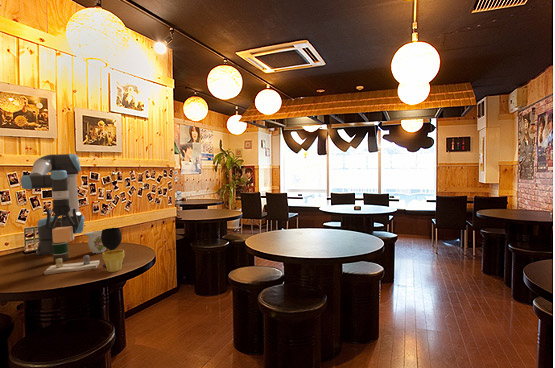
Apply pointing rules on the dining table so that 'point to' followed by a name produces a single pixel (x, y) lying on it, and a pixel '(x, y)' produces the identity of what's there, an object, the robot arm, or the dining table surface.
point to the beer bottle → (60, 247)
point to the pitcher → (95, 242)
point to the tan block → (62, 234)
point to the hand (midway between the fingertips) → (63, 240)
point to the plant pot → (113, 260)
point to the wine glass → (111, 238)
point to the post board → (72, 266)
